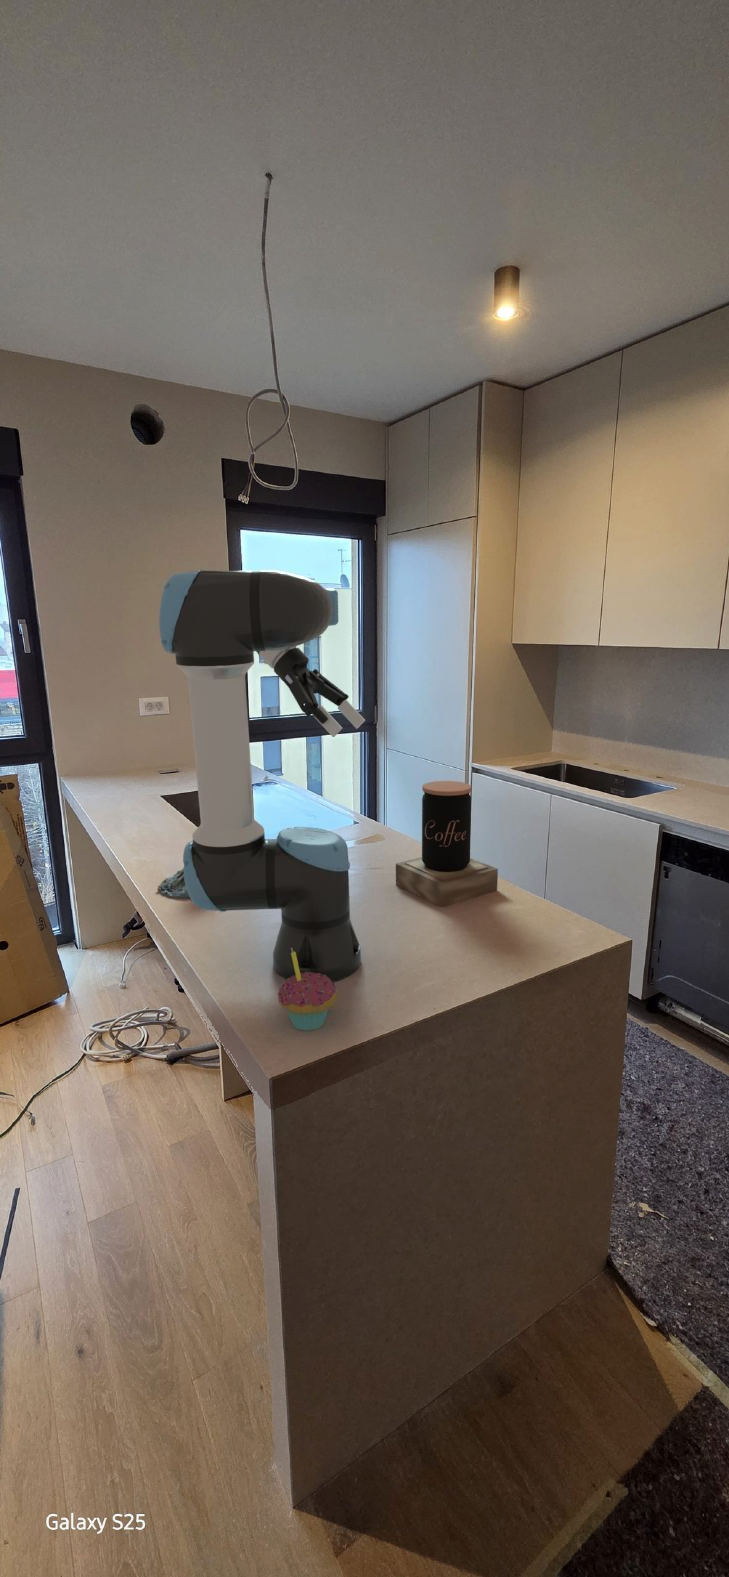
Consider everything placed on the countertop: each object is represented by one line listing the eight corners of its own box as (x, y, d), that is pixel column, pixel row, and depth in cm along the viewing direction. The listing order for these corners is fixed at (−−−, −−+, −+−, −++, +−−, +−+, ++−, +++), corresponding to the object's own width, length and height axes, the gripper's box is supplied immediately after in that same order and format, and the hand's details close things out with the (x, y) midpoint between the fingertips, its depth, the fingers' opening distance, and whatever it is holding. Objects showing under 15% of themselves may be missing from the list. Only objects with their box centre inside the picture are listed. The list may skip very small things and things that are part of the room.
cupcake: (283, 1042, 91) (280, 963, 89) (275, 1010, 99) (271, 937, 97) (343, 1032, 94) (342, 955, 91) (330, 1001, 102) (328, 929, 99)
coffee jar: (417, 870, 143) (417, 790, 139) (427, 855, 153) (427, 779, 149) (466, 875, 140) (467, 792, 136) (473, 859, 150) (474, 782, 146)
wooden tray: (497, 890, 145) (497, 867, 144) (441, 906, 137) (441, 882, 136) (449, 870, 158) (449, 849, 157) (395, 884, 150) (395, 862, 149)
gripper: (299, 668, 157) (359, 732, 156) (246, 673, 135) (315, 749, 133) (319, 645, 154) (380, 710, 153) (267, 646, 132) (338, 723, 130)
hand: (350, 728), depth 143 cm, fingers open, 13 cm apart
